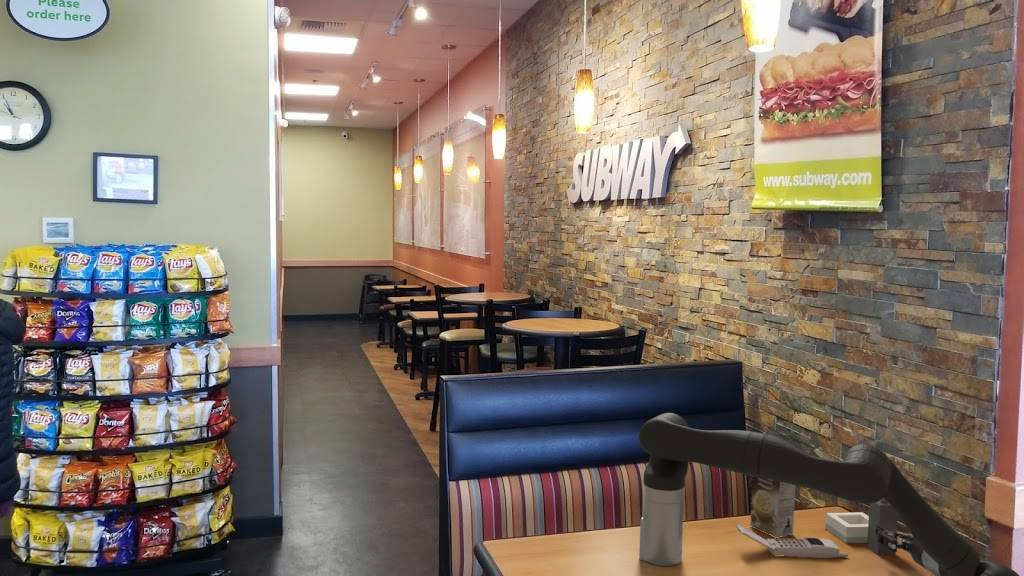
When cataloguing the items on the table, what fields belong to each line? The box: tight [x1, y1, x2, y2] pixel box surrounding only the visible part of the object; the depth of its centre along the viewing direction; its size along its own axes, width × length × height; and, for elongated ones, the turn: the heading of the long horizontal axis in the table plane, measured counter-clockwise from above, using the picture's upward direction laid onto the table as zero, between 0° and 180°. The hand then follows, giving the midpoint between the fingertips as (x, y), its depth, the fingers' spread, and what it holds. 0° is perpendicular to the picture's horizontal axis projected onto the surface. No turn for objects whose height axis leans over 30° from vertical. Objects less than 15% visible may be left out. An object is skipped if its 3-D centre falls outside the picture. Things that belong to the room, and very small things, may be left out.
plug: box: [866, 498, 899, 556], centre depth 189 cm, size 4×4×14 cm
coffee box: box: [749, 476, 797, 537], centre depth 201 cm, size 9×6×16 cm
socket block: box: [824, 511, 869, 544], centre depth 199 cm, size 10×10×4 cm
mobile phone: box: [735, 523, 849, 559], centre depth 187 cm, size 6×6×25 cm
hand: (894, 528), depth 184 cm, fingers open, 8 cm apart
